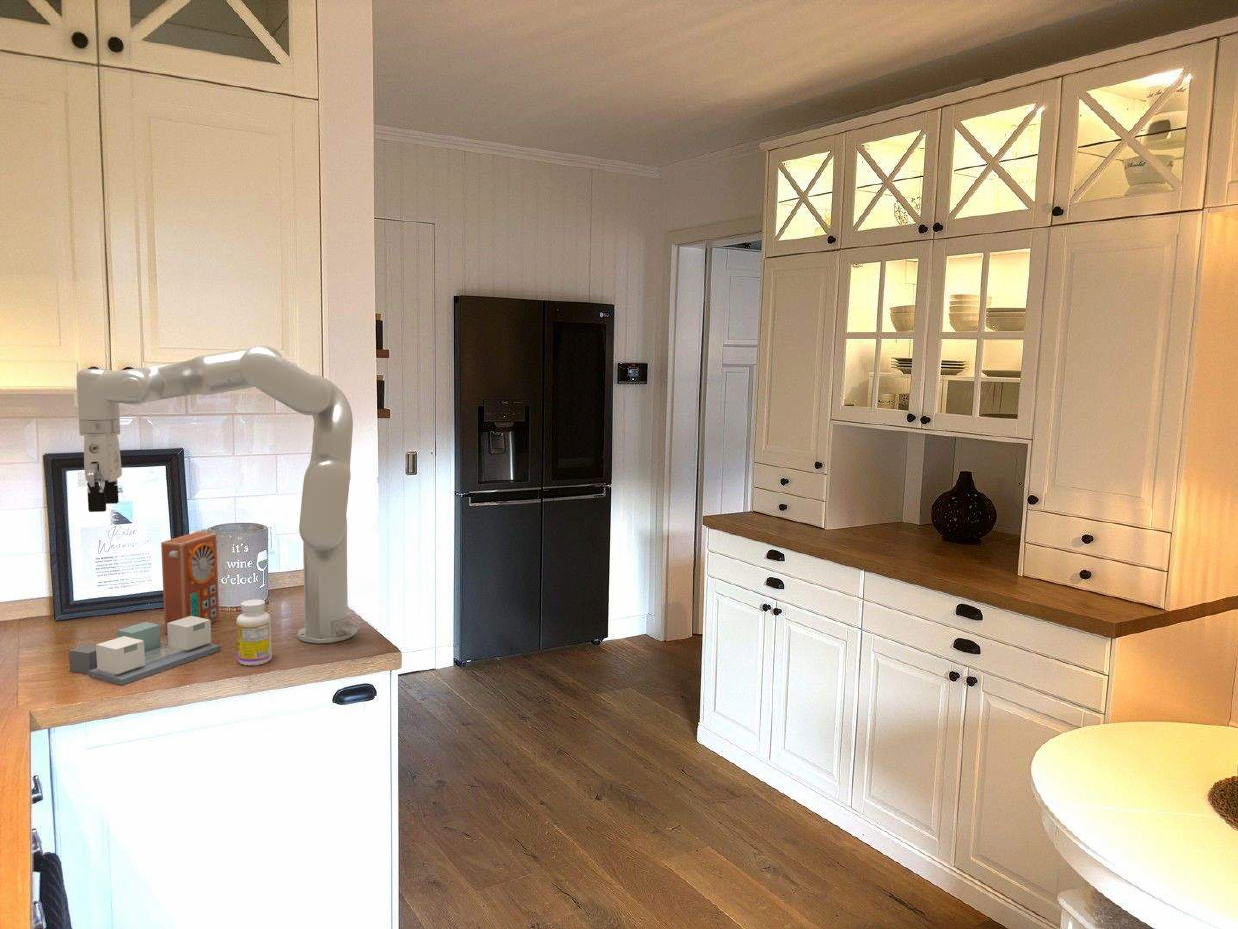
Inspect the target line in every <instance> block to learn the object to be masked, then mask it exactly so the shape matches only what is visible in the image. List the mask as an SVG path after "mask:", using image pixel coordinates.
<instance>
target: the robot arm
mask: <svg viewBox="0 0 1238 929" xmlns="http://www.w3.org/2000/svg"><path fill="white" fill-rule="evenodd" d="M75 380H76V395H77V396H76V397H77V410H78V411H77V412H78V413H77V415H78V430H79V431H78V432H79V436H83V437H84V438H83V440H84V441H83V449H84V450H83V464H84V465H83V466H84V467H83V468H84V477H85V480H86V482H87V483H86V486H87V490H86V491H87V492H86V493H87V505H88V506H87V508H88V512H90V513H99V512H100V513H101V512H103V513H104V512H106V511H107V505H113V504H114V505H115V504H118V503H119V502H120V501H119V485H118V483H119V482H118V479H120V477H122V474H123V471H122V470H123V469H122V459H121V448H120V443H119V435H121V420H120V419H121V418H120V404H125V405H131V406H133V405H134V406H138V405H142V404H143V405H144V404H146V403H152V402H156V401H161V400H166V399H168V400H169V399H172V398H179V397H186V396H193V395H202V396H204V395H205V396H207V395H209V396H210V395H217V394H223V393H228V392H234V391H239V390H245V389H251V388H255V389H257V390H259V391H261V393H263V394H265V395H267V396H268V397H271V398H272V399H275V400H276V401H277V402H279V403H281V404H283V405H284V406H286V407H287V408H289V409H292V410H293V411H295V412H297V413H298V414H301V415H305V416H312V418H313V419H312V420H313V432H312V442H311V443H312V445H311V454H310V461H309V463H308V465H307V468H306V470H305V473H304V475H303V484H302V494H301V502H300V503H301V504H300V513H299V514H300V515H299V523H298V524H299V526H298V532H299V536H300V538H301V540H302V542H303V543H302V544H303V546H302V548H303V550H302V551H303V552H302V554H303V555H302V556H303V558H302V559H303V561H302V562H303V563H302V564H303V593H304V594H303V604H304V627H302V628H300V629H299V630H298V631H297V638H298V639H299V640H300V641H302V642H305V643H310V644H332V643H338V642H342V641H346V640H348V639H350V638H352V637H354V636H355V635H356V634H357V631H358V630H359V629H360V624H359V623H355V622H354V623H353V622H352V616H351V615H349V608H348V606H349V603H348V601H349V600H348V593H349V592H348V517H347V512H348V504H349V502H348V501H349V492H350V483H351V476H352V475H351V474H352V473H351V459H352V458H351V457H352V446H353V431H354V430H353V428H354V426H353V425H354V421H353V420H354V419H353V418H354V417H353V412H352V408H351V405H350V402H349V400H348V398H347V396H346V395H345V393H344V392H343V391H342V390H341V389H340V388H339V387H338V386H337V384H335V383H334V382H332V381H330V380H329V379H328V378H325V377H323V376H321V375H319V374H311V373H309V372H308V371H306V370H304V369H303V368H300V367H298V366H297V365H296V364H294V363H292V362H291V361H289V360H288V359H286V358H284V357H283V355H282V354H281V353H280V352H279V351H278V350H277V349H276V348H274V347H272V346H269V345H267V346H266V345H264V346H263V345H262V346H261V345H259V346H255V347H250V348H243V349H236V350H231V351H224V352H216V353H211V354H203V355H200V356H195V357H194V358H192V359H188V360H184V361H180V362H172V363H168V364H162V365H156V366H155V365H154V366H153V365H152V366H147V367H146V366H145V367H137V368H130V369H128V368H127V369H121V370H112V369H106V368H84V369H83V368H82V369H80V370H78V372H77V373H76V379H75Z"/></svg>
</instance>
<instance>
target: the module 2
mask: <svg viewBox="0 0 1238 929" xmlns="http://www.w3.org/2000/svg"><path fill="white" fill-rule="evenodd" d="M160 627H161V626H160V624H157V623H153V622H148V621H144V622H140V623H137V624H133V625H129V626H127V627H123V628H120V629H117V638H119V637H123V636H126V637H130V638H134V639H139V640H143V641H144V652H147V651H150V650H154V649H157V648H160V647H162V646H161V629H160Z"/></svg>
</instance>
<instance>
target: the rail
mask: <svg viewBox="0 0 1238 929" xmlns="http://www.w3.org/2000/svg"><path fill="white" fill-rule="evenodd" d="M208 644H209V643H207V644H204V645H201V646H198V647H195V648H192V649H189V650H185V649H181V648H176V647H172V646H170V647H167V648H164V649H161V650H158V651H155V652H152V653H149V654H145V665H143V666H146V665H149V664H152V663H155V662H158V661H161V660H164V659H167V658H170V657H173V656H176V655H179V654H181V653H184V652H187V651H190V650H193V649H196V648H199V647H202V646H205V645H208ZM143 666H140V667H137V668H134V669H131V670H128V671H125V672H122V673H119V674H115V673H111V672H108V671H104V670H100V673H104V674H108V675H112V676H117V675H120V674H123V673H126V672H129V671H132V670H135V669H138V668H141V667H143Z"/></svg>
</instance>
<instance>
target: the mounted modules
mask: <svg viewBox="0 0 1238 929" xmlns="http://www.w3.org/2000/svg"><path fill="white" fill-rule="evenodd" d="M167 631H168V633H167V645H168V646H172V647H176V648H181V649H185V650H189V649H192V648H195V647H198V646H201V645H204V644H207V643H212V623H211V620H209V619H204V618H199V617H194V616H189V617H186V618H182V619H179V620H176V621H172V622H169V623H167ZM95 644H96V654H97V669H100V670H104V671H108V672H111V673H115V674H119V673H122V672H125V671H128V670H131V669H134V668H137V667H140V666H143V665H145V652H144V641H143V640H139V639H134V638H130V637H126V636H123V637H119V638H118V637H116V638H113V639H110V640H106V641H104V642H100V643H95Z"/></svg>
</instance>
